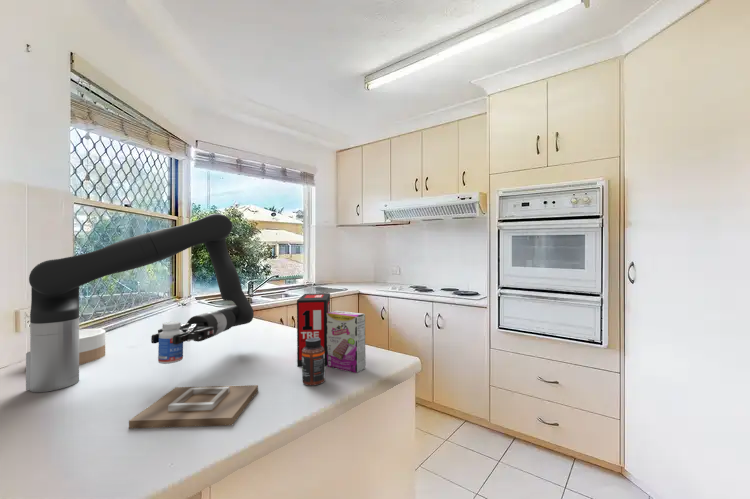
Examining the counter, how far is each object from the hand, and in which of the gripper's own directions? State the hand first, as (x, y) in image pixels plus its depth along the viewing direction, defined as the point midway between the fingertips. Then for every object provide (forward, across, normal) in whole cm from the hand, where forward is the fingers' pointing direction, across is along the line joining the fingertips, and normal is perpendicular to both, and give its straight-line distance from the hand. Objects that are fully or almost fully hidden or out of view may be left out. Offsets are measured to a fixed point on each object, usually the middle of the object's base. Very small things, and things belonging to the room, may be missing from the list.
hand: (163, 339), depth 81 cm
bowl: (-19, -50, +14) cm, 56 cm away
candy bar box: (-21, +42, +12) cm, 49 cm away
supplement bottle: (-10, +36, +12) cm, 39 cm away
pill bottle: (-3, 0, +6) cm, 7 cm away
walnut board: (+7, +15, +13) cm, 21 cm away
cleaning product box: (-30, +30, +12) cm, 44 cm away
